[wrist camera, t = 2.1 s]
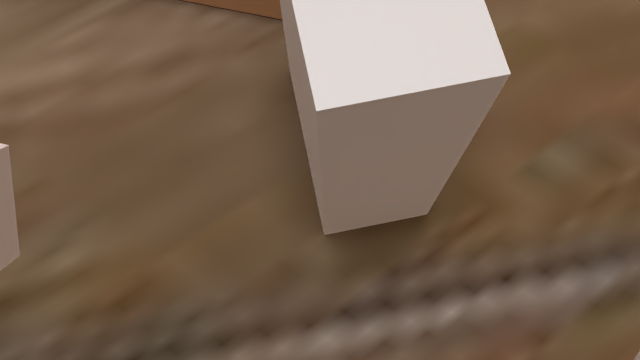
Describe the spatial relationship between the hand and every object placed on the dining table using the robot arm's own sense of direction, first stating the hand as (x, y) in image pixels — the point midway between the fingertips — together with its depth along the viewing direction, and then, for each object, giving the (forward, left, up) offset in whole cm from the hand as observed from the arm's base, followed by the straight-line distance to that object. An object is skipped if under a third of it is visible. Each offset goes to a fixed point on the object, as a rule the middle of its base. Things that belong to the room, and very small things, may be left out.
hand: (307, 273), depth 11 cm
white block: (-1, +9, -14) cm, 17 cm away
